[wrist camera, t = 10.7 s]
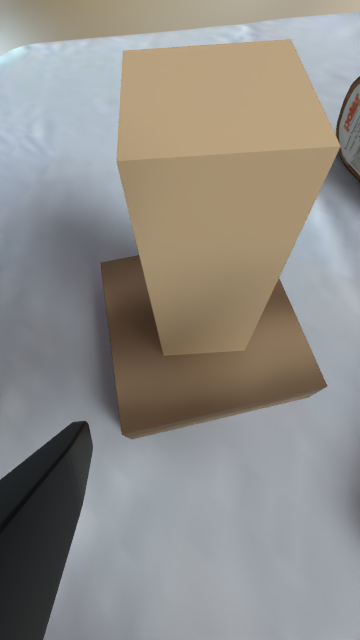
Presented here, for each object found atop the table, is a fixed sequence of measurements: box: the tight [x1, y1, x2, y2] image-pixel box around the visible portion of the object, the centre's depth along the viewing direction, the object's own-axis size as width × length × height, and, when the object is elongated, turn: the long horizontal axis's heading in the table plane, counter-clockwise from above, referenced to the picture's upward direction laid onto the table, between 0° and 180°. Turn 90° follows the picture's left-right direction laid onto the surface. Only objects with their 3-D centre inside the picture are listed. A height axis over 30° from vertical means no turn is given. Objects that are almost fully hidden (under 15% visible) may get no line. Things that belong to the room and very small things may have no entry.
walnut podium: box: [101, 255, 327, 439], centre depth 21 cm, size 12×12×3 cm
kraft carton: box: [117, 39, 341, 356], centre depth 14 cm, size 5×5×13 cm
